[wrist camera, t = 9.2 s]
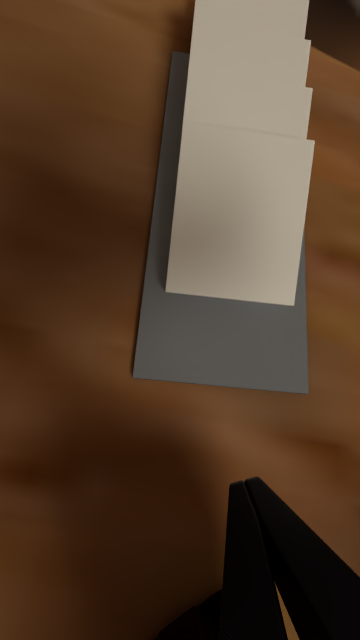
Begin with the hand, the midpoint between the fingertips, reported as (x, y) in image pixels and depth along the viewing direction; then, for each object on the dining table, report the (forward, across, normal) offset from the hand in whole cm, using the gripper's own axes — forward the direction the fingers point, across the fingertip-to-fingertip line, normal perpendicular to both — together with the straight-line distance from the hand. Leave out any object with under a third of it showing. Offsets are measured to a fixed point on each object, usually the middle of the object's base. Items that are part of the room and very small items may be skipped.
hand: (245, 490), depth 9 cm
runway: (+23, -7, -6) cm, 24 cm away
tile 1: (+16, -4, 0) cm, 16 cm away
